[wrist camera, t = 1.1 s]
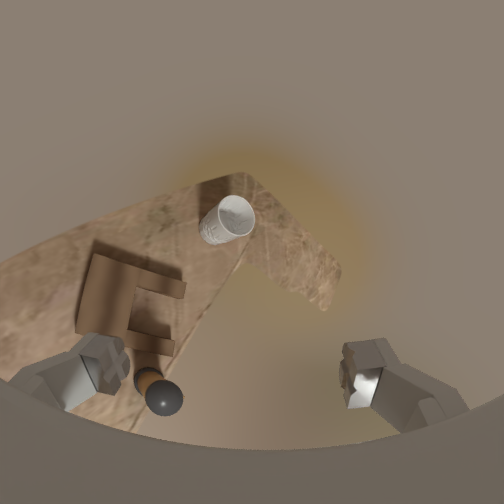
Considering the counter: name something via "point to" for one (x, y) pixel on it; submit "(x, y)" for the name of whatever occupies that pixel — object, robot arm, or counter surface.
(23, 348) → the counter surface
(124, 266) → the notched board
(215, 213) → the white cup
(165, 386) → the tan grey capped cylinder
